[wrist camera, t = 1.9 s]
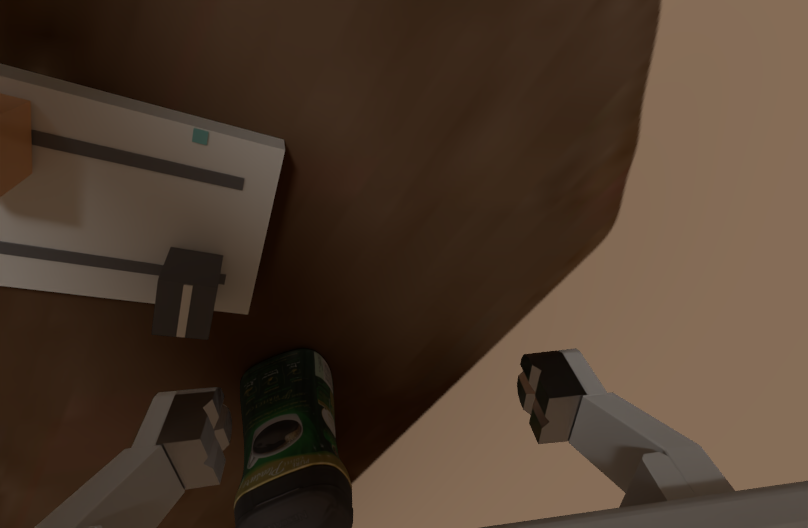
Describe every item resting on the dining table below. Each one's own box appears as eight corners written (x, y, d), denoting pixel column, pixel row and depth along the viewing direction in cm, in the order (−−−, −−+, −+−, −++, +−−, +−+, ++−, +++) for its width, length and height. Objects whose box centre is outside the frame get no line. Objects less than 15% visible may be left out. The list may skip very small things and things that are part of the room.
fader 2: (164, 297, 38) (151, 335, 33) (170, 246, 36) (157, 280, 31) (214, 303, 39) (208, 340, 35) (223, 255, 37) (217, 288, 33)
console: (-73, 254, 34) (-101, 275, 32) (-104, 35, 28) (-142, 39, 25) (249, 296, 43) (247, 315, 41) (284, 139, 37) (285, 150, 34)
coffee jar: (263, 413, 52) (260, 588, 36) (230, 369, 47) (212, 548, 32) (340, 382, 52) (370, 541, 37) (315, 335, 48) (337, 495, 33)
